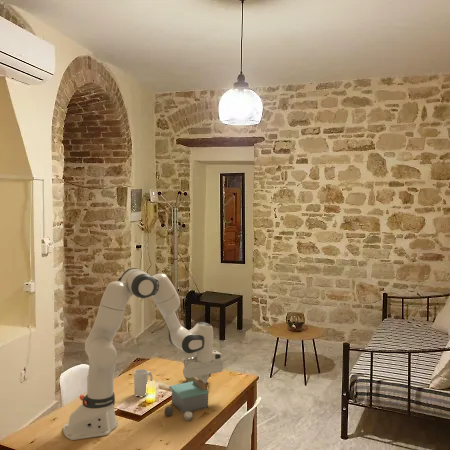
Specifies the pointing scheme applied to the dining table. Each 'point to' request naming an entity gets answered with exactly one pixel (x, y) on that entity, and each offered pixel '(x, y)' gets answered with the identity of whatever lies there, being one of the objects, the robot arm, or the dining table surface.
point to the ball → (168, 411)
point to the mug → (141, 381)
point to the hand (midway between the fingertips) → (203, 383)
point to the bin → (190, 402)
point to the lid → (189, 388)
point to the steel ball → (188, 415)
